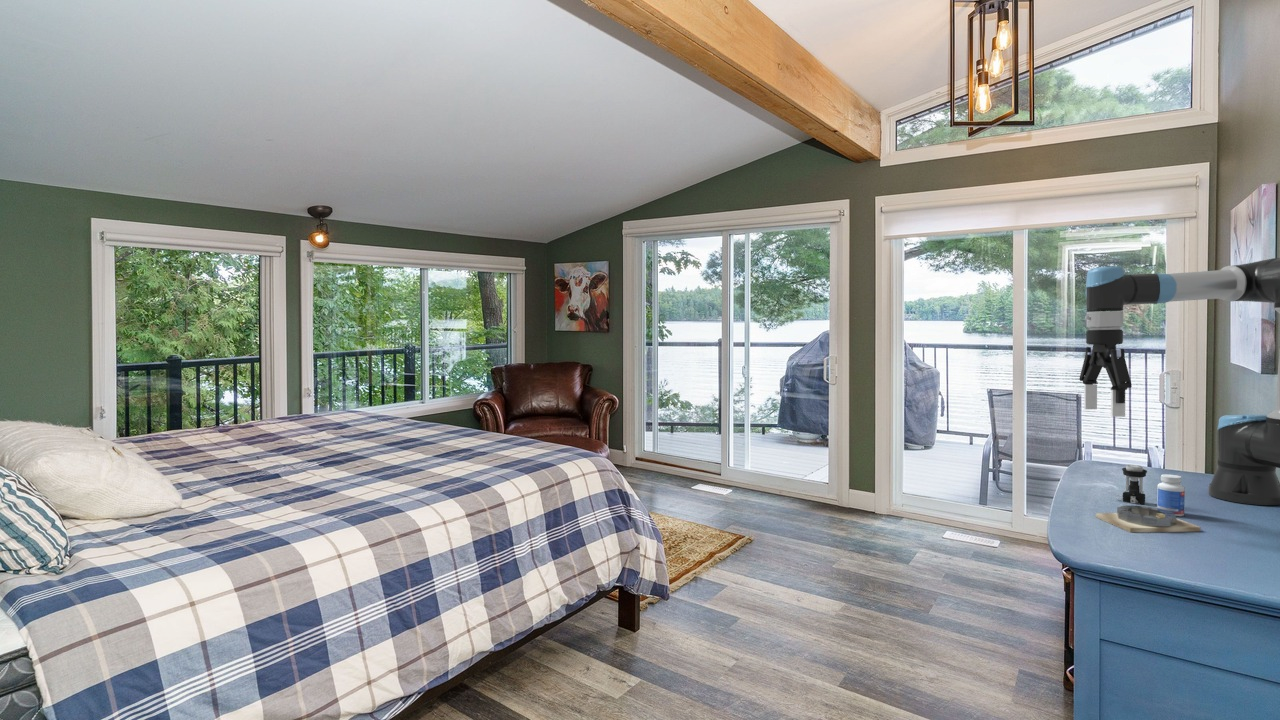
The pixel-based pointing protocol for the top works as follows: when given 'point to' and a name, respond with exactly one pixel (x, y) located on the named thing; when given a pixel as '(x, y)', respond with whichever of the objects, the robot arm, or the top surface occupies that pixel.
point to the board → (1130, 527)
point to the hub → (1146, 516)
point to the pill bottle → (1171, 494)
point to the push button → (1134, 484)
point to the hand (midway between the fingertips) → (1103, 412)
